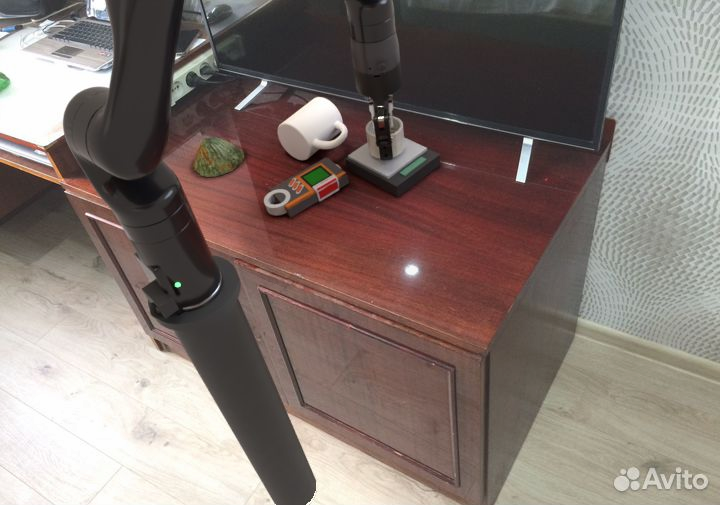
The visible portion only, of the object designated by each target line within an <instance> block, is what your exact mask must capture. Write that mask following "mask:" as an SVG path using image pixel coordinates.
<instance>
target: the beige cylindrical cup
mask: <svg viewBox="0 0 720 505" xmlns="http://www.w3.org/2000/svg"><path fill="white" fill-rule="evenodd" d="M389 122H390V120H389ZM365 135H366V141H367V142H368V149H369V152H370V154H371V155H372V156H374V157H376V158H380V153H379V147H377V145H376V136H375V130H374V129H373V126H372V119H371V120H370V121H368V122H367V124H366V125H365ZM391 137H392V139H393V140H392V151H393V158H394V157H396V156H398V155H399V154H401V153H402V152H403V150H404V149H405V141H404V138H405V132H404V122H403V121H402V120H401V119H400V118H399V117H396V116H394V115H393V127H392V128H391ZM367 142H366V143H367Z"/></svg>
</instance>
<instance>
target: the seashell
mask: <svg viewBox="0 0 720 505" xmlns="http://www.w3.org/2000/svg"><path fill="white" fill-rule="evenodd" d="M244 160H245V153H244V150H242V149H241V148H240V147H237V146H236V145H234V144H232V143H231V142H229V141H227V140H225V139H223V138H220V137H218V136H217V137H215V136H212V137H211V136H210V137H206V138H204V139H202V140H201V141H200V142H199V143H198V147H197V151H196V154H195V158H194V159H193V163H192V168H193V169H194V172H196V173H197V174H199V175H200V176H201V177H205V178H213V177H219V176H223V175H226V174H229V173H230V172H233V171H234V170H235V169H237V168H238V167H240V165H241V164H242V163H243V162H244Z"/></svg>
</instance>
